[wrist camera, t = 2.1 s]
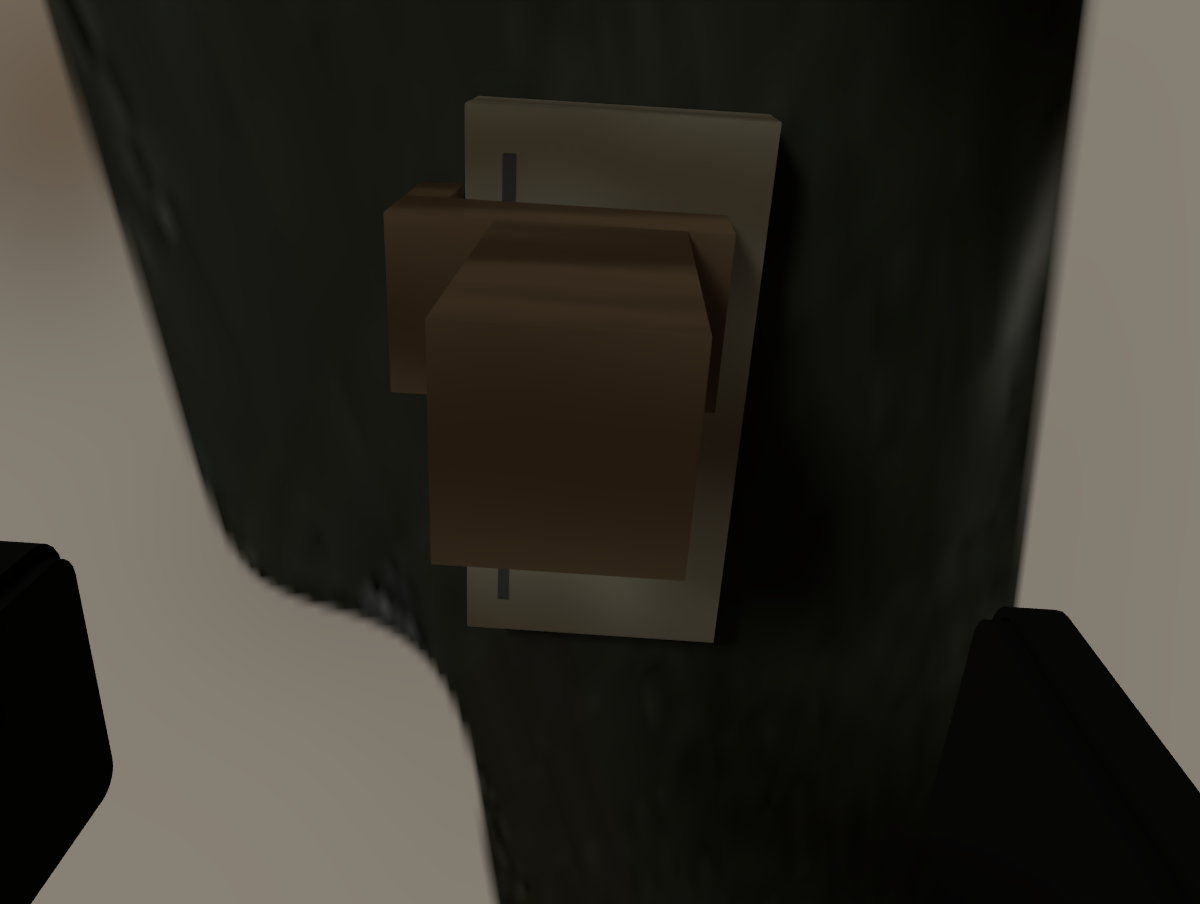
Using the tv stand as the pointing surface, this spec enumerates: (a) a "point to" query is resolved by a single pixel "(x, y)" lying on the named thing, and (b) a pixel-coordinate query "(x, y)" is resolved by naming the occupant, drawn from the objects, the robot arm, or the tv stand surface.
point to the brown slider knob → (558, 375)
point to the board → (742, 192)
